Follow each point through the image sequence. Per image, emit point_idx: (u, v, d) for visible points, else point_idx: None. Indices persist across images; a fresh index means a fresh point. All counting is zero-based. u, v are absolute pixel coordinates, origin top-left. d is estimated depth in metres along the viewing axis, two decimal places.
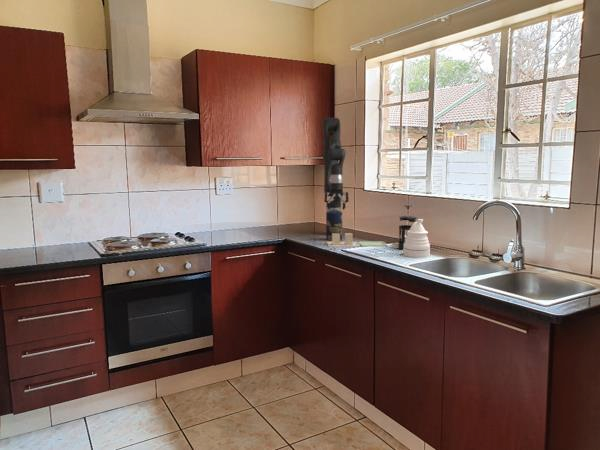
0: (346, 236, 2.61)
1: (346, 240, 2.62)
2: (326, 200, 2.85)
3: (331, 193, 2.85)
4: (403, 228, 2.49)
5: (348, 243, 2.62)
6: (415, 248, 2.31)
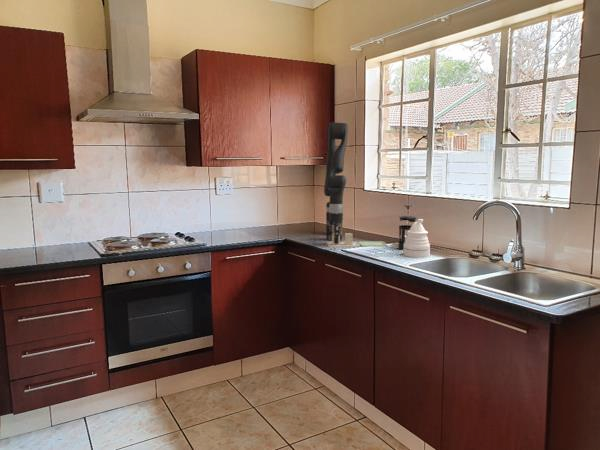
0: (346, 236, 2.61)
1: (346, 240, 2.62)
2: (338, 234, 2.59)
3: (338, 224, 2.59)
4: (403, 228, 2.49)
5: (348, 243, 2.62)
6: (415, 248, 2.31)
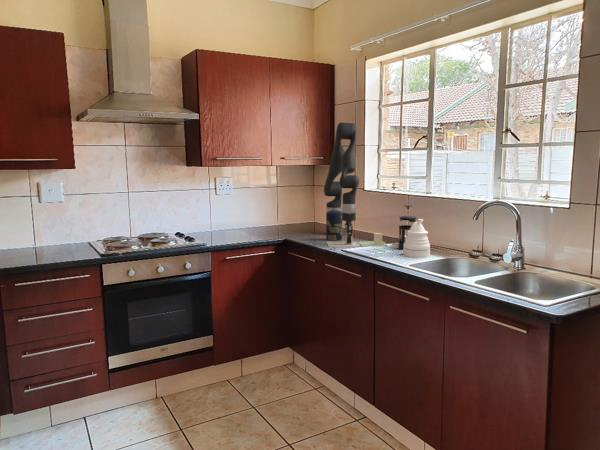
0: (346, 236, 2.62)
1: (346, 240, 2.62)
2: (351, 234, 2.59)
3: None
4: (403, 228, 2.49)
5: None
6: (415, 248, 2.31)
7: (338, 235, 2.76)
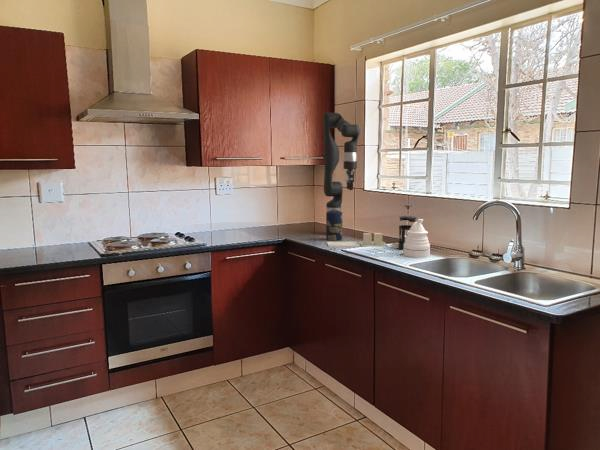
0: (365, 236, 2.62)
1: (365, 240, 2.62)
2: (353, 180, 2.64)
3: None
4: (403, 228, 2.49)
5: (367, 243, 2.63)
6: (415, 248, 2.31)
7: (338, 235, 2.76)
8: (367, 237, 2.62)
